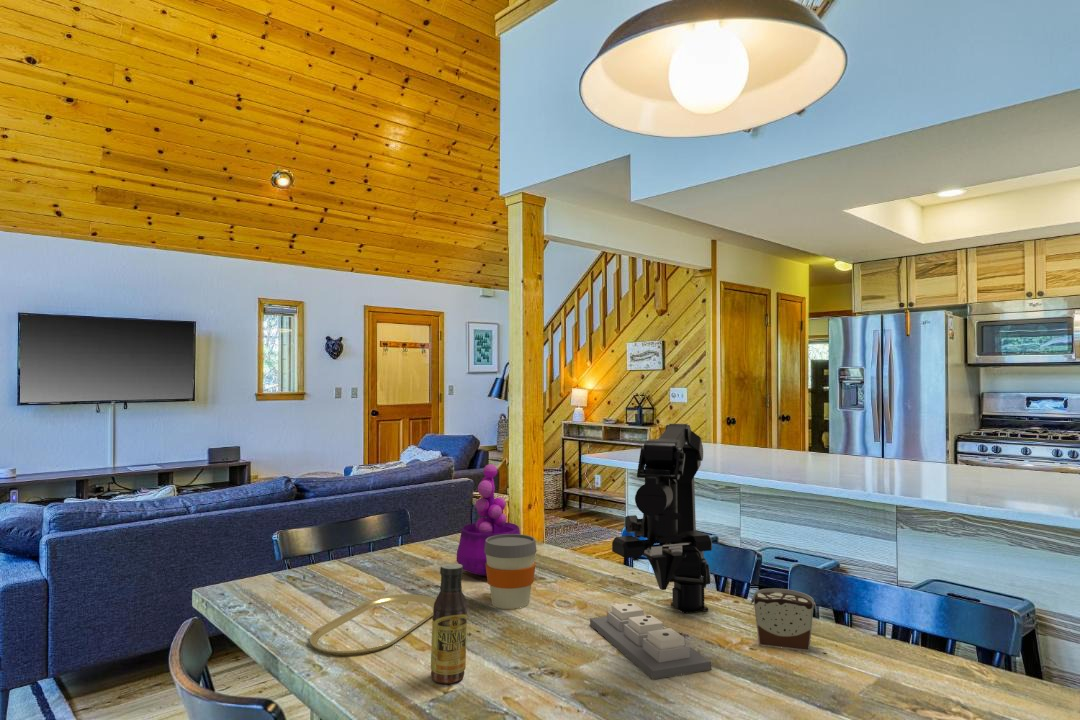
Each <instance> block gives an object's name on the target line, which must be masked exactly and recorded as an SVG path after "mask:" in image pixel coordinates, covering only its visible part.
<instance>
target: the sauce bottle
mask: <svg viewBox="0 0 1080 720" xmlns="http://www.w3.org/2000/svg"><path fill="white" fill-rule="evenodd" d="M439 569H440V570H439V573H440V588H439V589H440V591H439V594H437V596H436V599H435V600H436V601H435V603H434V610H433V609H432V613H433V611H434V613H433V616H432V620H431V621H432V623H431V626H432V627H431V648H430V651H431V652H430V670H431V672H430V673H431V674H430V678H431V679H432V681H433V682H436V683H438V684H455V683H456V682H460V681H461V680H463V678H464V676H465V670H466V669H467V668H466V665H467V664H466V663H467V636H468V635H467V634H468V633H467V630H468V629H467V628H468V611H467V610H468V606H467V605H468V604H467V599H466V597H465V595H464V593H463V591H462V588H463V587H462V575H463V571H464V570H463V566H462V565H461V564H458V562H457V563H455V562H450V563H443V564H442V565H440V568H439Z"/></svg>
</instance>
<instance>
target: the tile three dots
mask: <svg viewBox="0 0 1080 720" xmlns="http://www.w3.org/2000/svg"><path fill="white" fill-rule="evenodd" d="M644 615H645V616H637V617H630V618H629V627H630V628H631V629H633V630H634V631H635V632H637V633H638V634H639V635H641V634H648V631H655V630H662V629H663V628H664V623H663V622H662V621H661V620H659V619H658V618H656V617H654V616H653V615H652V614H644Z"/></svg>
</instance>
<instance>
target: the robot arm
mask: <svg viewBox="0 0 1080 720" xmlns="http://www.w3.org/2000/svg"><path fill="white" fill-rule="evenodd" d="M703 459H704V446H703V442H702V438H701V436H699V435H698V434H697V433H695V432H694V431H693V430H692V429H691V425H690V424H687V423H669V424H666V426H665V430H664V431H663V432H662V433H661V435H660V436H659V438H654V439H648V440H646V441H644V443H643V445H642V446H641V448H640V451H639V460H638V464H637V465H638V466H637V471H636V478H639V479H644V484H642V485H641V486H640V487H639V488H638V489H637V491H636V493H635V495H634V502H635V503H634V504H635V505H636V508H637V509H638V510H639V511H640V513H642V516H643V517H642V518H638V516H637V515H636V514H635V515H626V516H625V521H624V526H625V527H624V528H625V532H626V533H627V534H628V533H629V534H630V533H634V536H633V535H622V536H621V535H620V536H615V537H614V538H613V540H612V543H611V551H612V552H613V553H614V554H617V555H618V556H620V557H622V558H625V559H633V558H642V556H644V557H645V558H646V559H647V560H648V562H649V564H650V565H651V567H652V570H653V574H654V576H655V577H654V578H655V579H656V582H657V584H658V585H657V586H658V588H659V590H660V591H666V590H667V588H668V586H669V583H673V587H672V596H671V597H672V602H670V606H671V607H673V608H674V609H676V610H677V611H679V612H681V613H682V614H691V613H692V614H694V613H699V612H707V611H709V607H707V606H705V587H706V586H707V585H711V571H710V565H709V564H708V562H707V559H706V558H705V555H704V553H705V552H709V551H710V552H711V551H712V550H713V540H712V538H711V537H710V535H709V534H706V533H704V532H701V531H699V530H697V526H696V520H697V519H696V493H695V489H696V488H695V476H696V474H697V472H698V471H699V469H700V468H701V465H702V462H703ZM640 538H643V539H640Z"/></svg>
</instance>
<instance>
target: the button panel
mask: <svg viewBox="0 0 1080 720" xmlns="http://www.w3.org/2000/svg"><path fill="white" fill-rule="evenodd" d="M645 615H646V614H644V616H645ZM589 625H591V626H590V627H592V629H594V630H595V629H596V630H597V631H598V632H597V631H596V630H595V631H596V632H597V633H599V635H601V634H602V635H601V636H602V637H603V636H604V637H605V638H604V637H603V638H604V639H606V640H607V641H608V642H609V641H610V642H611V643H612V644H613V645H612V644H611V643H610V642H609V643H610V644H611V645H612V646H614V647H615V648H616V649H617V650H618V649H619V650H620V651H619V650H618V651H619V652H621V654H623V655H624V656H625V657H626V656H627V657H626V658H628V659H629V660H630V661H631V662H632V663H633V664H634V665H636V666H637V667H638V668H639V669H640V670H641V671H643V672H644V673H645V674H646V675H647V676H648V677H649V678H651V679H652V680H658V679H660V680H661V679H665V678H670V677H675V676H676V675H677V676H683V675H687V674H693V673H694V672H695V673H699V672H705V671H711V670H712V661H711V659H708V658H707V657H706V656H704V655H703V654H701V653H700V652H699V651H697V650H695V649H694V648H693V647H691V646H690V645H688V643H685V642H684V647H678V648H671V649H665V650H659V649H658V648H656V647H655V646H654V645H652V644H651V643H650V642H649V641H648V634H641V635H639V634H638V633H637V632H635V631H634V630H633V629H631V628H630V627H629V620H624V621H621V620H620V619H618V618H617V617H616V616H614V615H613V614H612V610H609V611H607V612H606V615H605V616H598V617H596V616H595V617H590V618H589ZM663 629H665V628H664V627H663ZM681 674H682V675H681Z"/></svg>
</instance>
